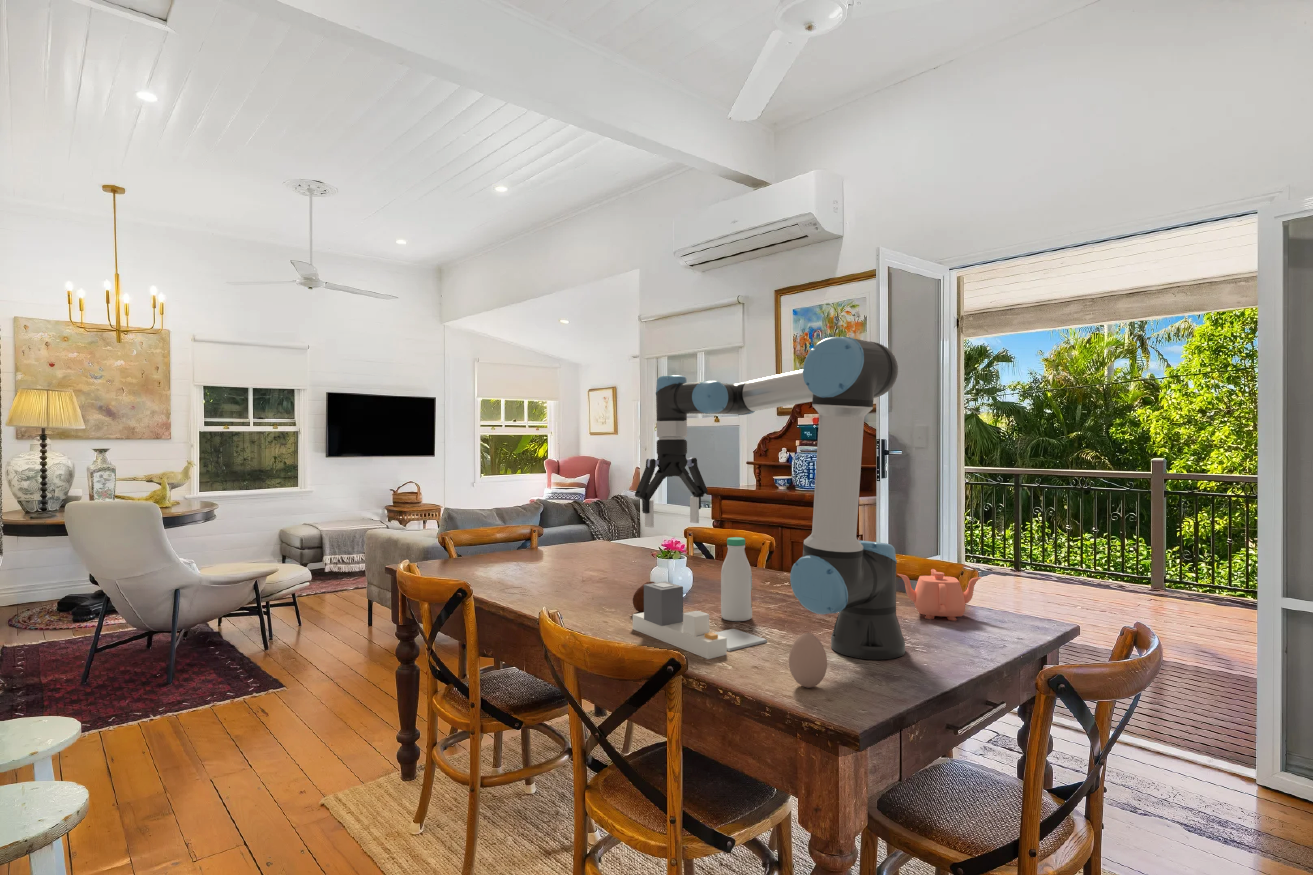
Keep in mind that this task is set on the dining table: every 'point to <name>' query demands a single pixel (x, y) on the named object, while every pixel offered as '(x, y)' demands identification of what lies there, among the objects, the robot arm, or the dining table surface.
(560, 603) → the dining table surface
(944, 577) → the teapot
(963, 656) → the dining table surface
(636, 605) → the potato
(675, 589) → the block
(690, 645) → the power strip
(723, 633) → the mat
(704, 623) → the white plug
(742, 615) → the milk bottle
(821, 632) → the dining table surface
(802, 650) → the egg
